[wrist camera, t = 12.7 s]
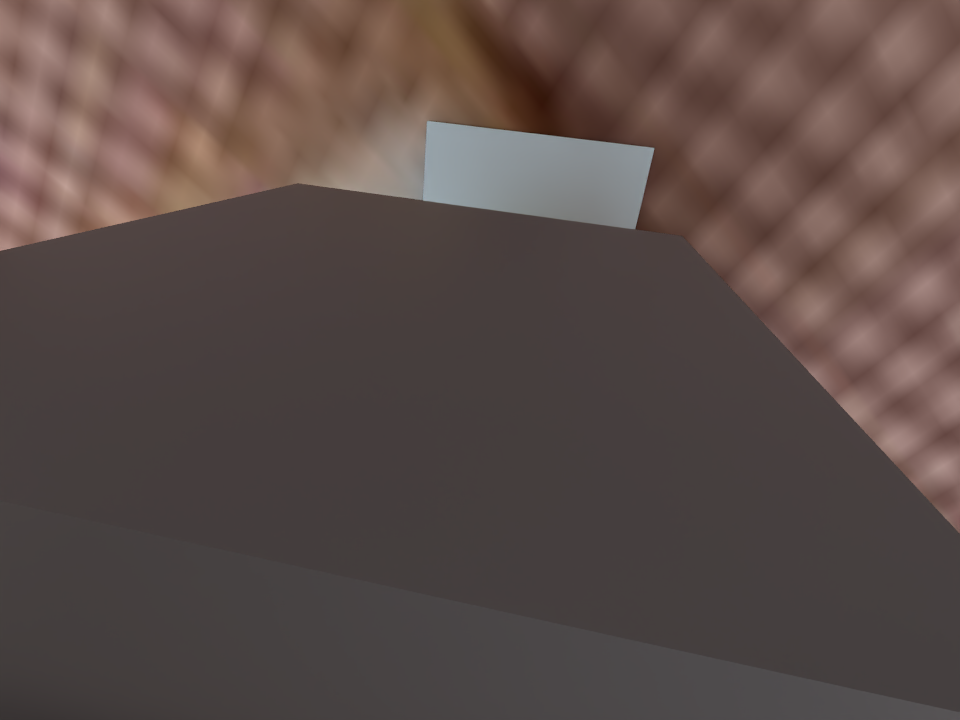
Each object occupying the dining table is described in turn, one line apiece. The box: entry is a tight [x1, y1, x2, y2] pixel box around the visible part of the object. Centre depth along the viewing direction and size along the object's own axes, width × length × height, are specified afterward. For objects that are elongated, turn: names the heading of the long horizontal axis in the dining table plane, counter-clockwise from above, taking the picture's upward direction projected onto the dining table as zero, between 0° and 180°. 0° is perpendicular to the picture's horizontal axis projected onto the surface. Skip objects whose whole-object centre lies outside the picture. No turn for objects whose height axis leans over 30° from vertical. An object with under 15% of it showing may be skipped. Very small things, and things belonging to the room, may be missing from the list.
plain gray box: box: [0, 184, 960, 720], centre depth 8 cm, size 10×8×9 cm
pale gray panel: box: [423, 121, 654, 229], centre depth 25 cm, size 12×10×1 cm
